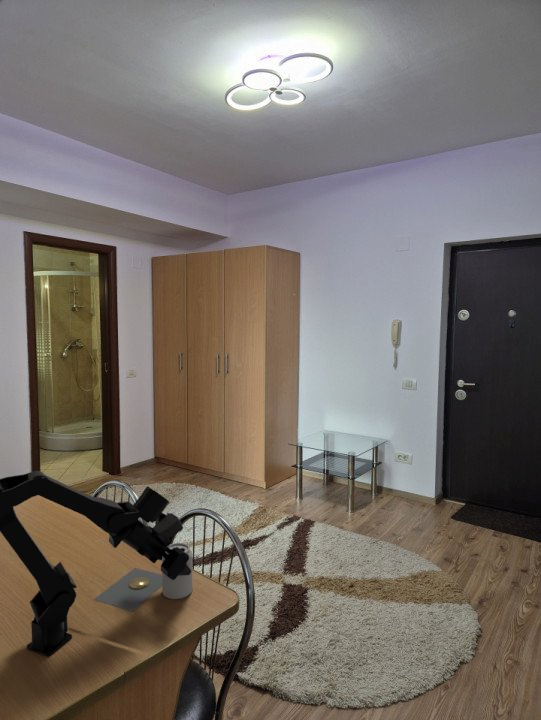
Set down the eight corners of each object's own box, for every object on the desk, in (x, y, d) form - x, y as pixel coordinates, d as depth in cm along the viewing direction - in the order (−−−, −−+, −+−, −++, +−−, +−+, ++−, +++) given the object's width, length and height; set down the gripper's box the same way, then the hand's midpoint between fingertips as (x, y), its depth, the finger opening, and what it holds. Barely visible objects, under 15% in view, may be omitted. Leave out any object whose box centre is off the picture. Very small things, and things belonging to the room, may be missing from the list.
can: (186, 604, 115) (185, 556, 114) (157, 600, 116) (156, 553, 115) (196, 587, 122) (196, 542, 121) (169, 583, 123) (169, 539, 122)
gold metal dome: (141, 591, 119) (141, 589, 119) (124, 586, 121) (124, 585, 121) (153, 580, 124) (153, 579, 124) (137, 576, 125) (137, 575, 125)
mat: (133, 613, 111) (133, 611, 111) (93, 602, 115) (93, 599, 115) (172, 579, 126) (172, 577, 125) (135, 569, 130) (135, 567, 130)
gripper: (181, 520, 107) (221, 552, 115) (145, 496, 122) (183, 526, 130) (149, 565, 103) (194, 594, 111) (116, 534, 117) (157, 562, 125)
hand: (182, 566), depth 119 cm, fingers closed on can, 7 cm apart
